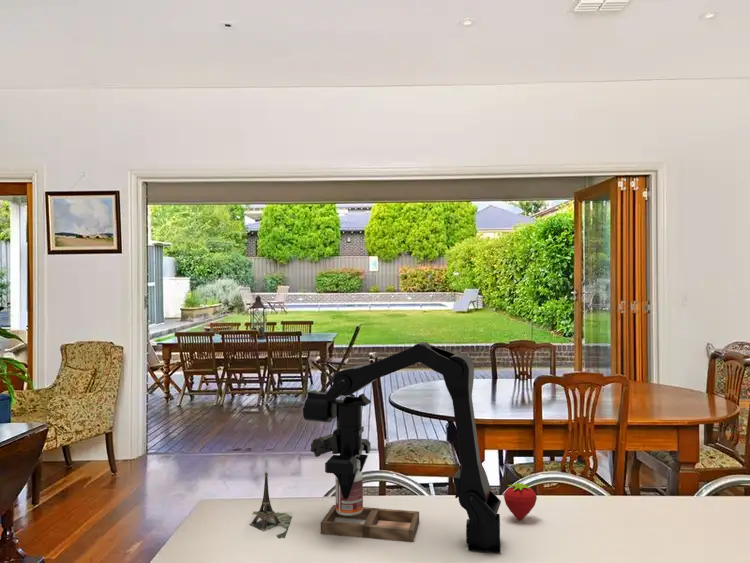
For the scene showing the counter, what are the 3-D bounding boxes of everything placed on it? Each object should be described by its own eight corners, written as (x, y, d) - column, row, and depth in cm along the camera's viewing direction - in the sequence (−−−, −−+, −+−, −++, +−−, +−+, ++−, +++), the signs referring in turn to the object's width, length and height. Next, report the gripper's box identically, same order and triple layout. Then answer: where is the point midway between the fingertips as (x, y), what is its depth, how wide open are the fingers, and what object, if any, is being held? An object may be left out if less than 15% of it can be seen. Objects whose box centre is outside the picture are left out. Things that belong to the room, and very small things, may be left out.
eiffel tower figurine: (285, 541, 123) (286, 479, 123) (238, 541, 123) (238, 479, 123) (294, 513, 138) (294, 458, 138) (252, 514, 138) (252, 458, 138)
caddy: (419, 522, 132) (419, 511, 132) (413, 542, 121) (413, 530, 121) (333, 515, 136) (333, 504, 136) (320, 533, 125) (320, 522, 125)
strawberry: (540, 525, 130) (540, 481, 130) (507, 526, 130) (507, 481, 130) (532, 515, 136) (532, 472, 136) (500, 515, 136) (500, 473, 136)
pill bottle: (368, 511, 129) (368, 461, 130) (347, 519, 125) (347, 467, 125) (350, 504, 134) (350, 455, 134) (329, 511, 130) (329, 460, 130)
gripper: (326, 413, 141) (326, 477, 140) (301, 432, 122) (301, 506, 122) (370, 415, 138) (371, 480, 138) (352, 435, 120) (352, 509, 120)
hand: (349, 493), depth 130 cm, fingers closed on pill bottle, 6 cm apart
